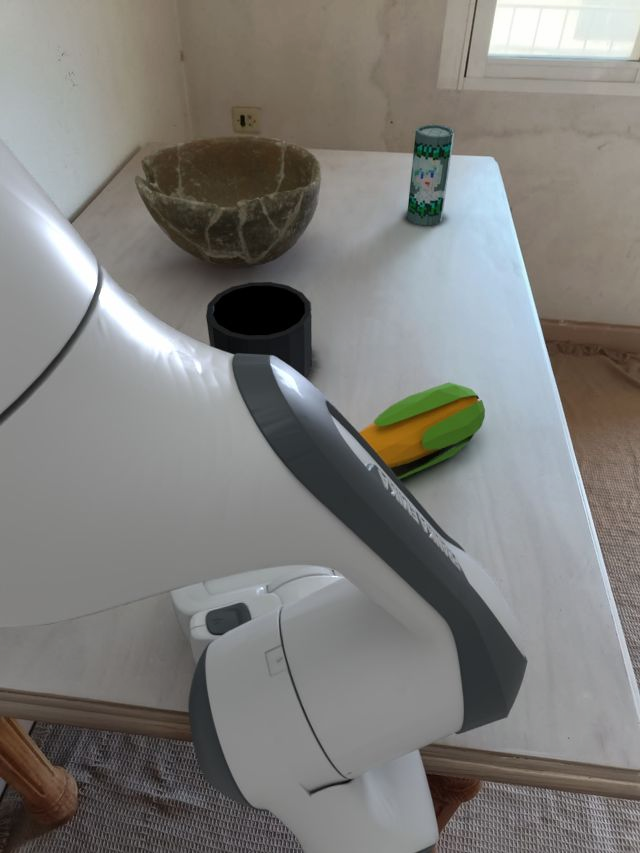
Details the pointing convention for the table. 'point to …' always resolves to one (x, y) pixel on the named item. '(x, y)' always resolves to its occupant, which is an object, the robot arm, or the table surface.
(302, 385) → the robot arm
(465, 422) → the corn
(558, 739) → the table surface
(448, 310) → the table surface
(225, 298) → the pot
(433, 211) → the can
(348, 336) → the table surface
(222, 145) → the bowl
